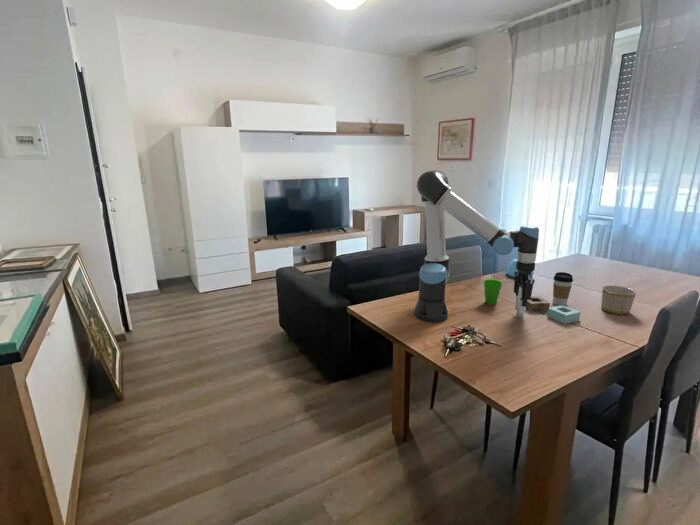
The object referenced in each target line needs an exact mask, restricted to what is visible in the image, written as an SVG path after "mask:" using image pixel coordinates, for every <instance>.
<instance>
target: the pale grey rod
mask: <svg viewBox="0 0 700 525" xmlns="http://www.w3.org/2000/svg"><path fill="white" fill-rule="evenodd" d="M520 298H522V284H519V293H518V302H517V310H515V312H516V313H515V316H516V317H518V318H523V317H524V313H519V306H520Z"/></svg>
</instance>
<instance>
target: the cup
mask: <svg viewBox="0 0 700 525" xmlns="http://www.w3.org/2000/svg"><path fill="white" fill-rule="evenodd" d="M482 282H483V284H484V286H483V287H484V300H485V304H487V305H493V306H494V305H496V304H497V302H498V300H499V295H500V292H501V288H502V285H503V284H504V283H503V281H501V280H499V279H493V278H487V279H484V280H482Z"/></svg>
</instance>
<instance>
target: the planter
mask: <svg viewBox="0 0 700 525" xmlns="http://www.w3.org/2000/svg"><path fill="white" fill-rule="evenodd" d="M601 292H602V294H601V303H600V304H601V309H602V310H603V311H604V312H606V313H608V312H609V313H608V314H612V313H613V315H617V314H620V315H619V316H624V314H626V315H628V314H630V312H631V310H632V306H633V304H634V300H635V298H636V293H637V291H636V290H634V289H632V288H629V287H624V286H621V285H612V284H611V285H603V287H602V291H601Z"/></svg>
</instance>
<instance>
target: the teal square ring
mask: <svg viewBox="0 0 700 525" xmlns="http://www.w3.org/2000/svg"><path fill="white" fill-rule="evenodd" d="M546 314H547V315H546V316H547V317H548V318H550V319H553V320H554V321H557V322H560V323H561V324H564V325H566V323H567V324H570V323H574V322H578V321H580V320H581V318H580V317H581V311H579V310H577V309H574V308H572V307H568V306H566V305H565V306H564V305H555V306H551V307H549V308H548V311H547V313H546Z"/></svg>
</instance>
